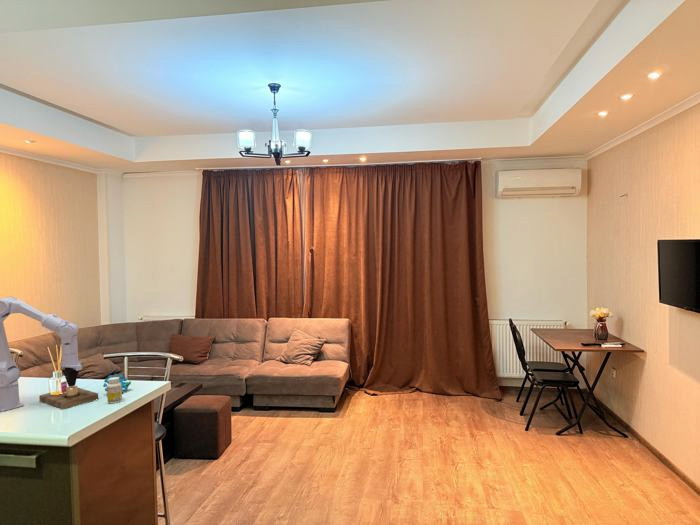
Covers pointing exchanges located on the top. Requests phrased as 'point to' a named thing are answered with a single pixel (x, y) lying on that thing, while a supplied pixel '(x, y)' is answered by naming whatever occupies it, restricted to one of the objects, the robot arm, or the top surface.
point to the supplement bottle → (114, 390)
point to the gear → (123, 384)
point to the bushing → (72, 391)
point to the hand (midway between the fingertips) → (71, 385)
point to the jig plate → (68, 399)
